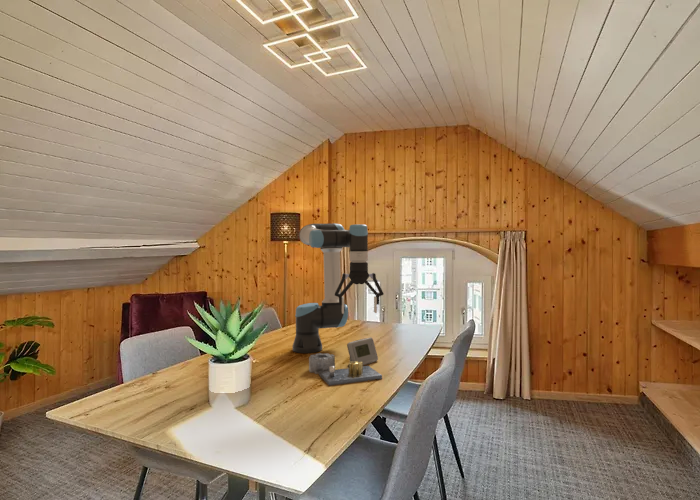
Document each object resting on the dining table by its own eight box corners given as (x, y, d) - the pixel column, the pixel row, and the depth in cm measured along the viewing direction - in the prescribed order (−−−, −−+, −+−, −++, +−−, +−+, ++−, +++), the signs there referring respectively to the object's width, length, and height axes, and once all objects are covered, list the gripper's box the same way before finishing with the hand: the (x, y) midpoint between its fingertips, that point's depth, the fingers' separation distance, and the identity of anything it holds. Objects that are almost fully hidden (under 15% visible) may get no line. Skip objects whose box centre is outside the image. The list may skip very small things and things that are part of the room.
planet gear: (306, 368, 186) (306, 354, 186) (330, 365, 189) (330, 352, 189) (313, 375, 175) (312, 360, 175) (338, 372, 179) (337, 358, 179)
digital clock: (353, 369, 184) (352, 344, 184) (341, 364, 192) (341, 340, 192) (382, 363, 193) (382, 339, 193) (371, 358, 201) (370, 336, 200)
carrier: (319, 375, 176) (318, 361, 176) (368, 369, 183) (368, 356, 183) (329, 385, 163) (328, 371, 162) (381, 378, 170) (381, 365, 170)
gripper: (328, 262, 172) (329, 314, 173) (390, 261, 174) (390, 313, 174) (328, 261, 180) (328, 311, 180) (387, 260, 182) (387, 310, 182)
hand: (359, 312), depth 177 cm, fingers open, 13 cm apart
